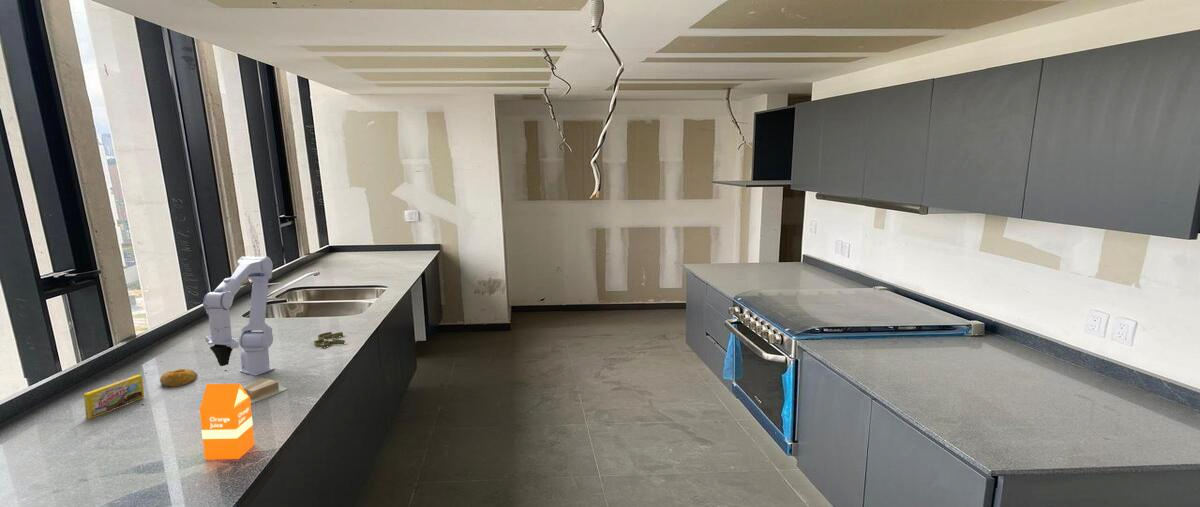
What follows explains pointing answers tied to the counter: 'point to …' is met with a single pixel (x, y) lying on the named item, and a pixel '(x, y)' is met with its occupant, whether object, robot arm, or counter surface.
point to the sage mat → (268, 395)
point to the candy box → (113, 396)
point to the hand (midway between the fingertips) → (224, 364)
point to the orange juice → (226, 421)
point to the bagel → (178, 377)
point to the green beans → (327, 343)
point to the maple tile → (261, 388)
